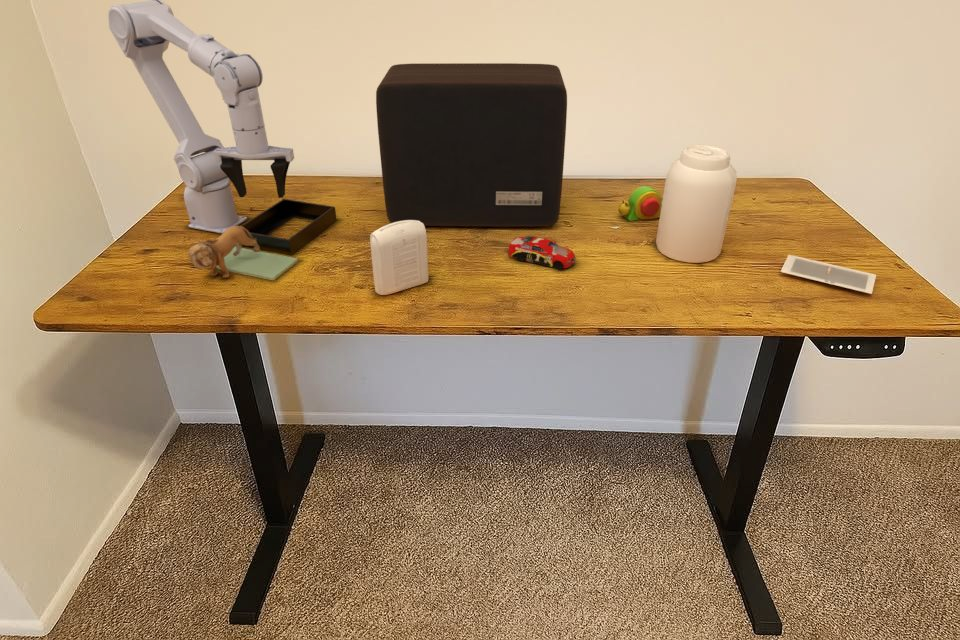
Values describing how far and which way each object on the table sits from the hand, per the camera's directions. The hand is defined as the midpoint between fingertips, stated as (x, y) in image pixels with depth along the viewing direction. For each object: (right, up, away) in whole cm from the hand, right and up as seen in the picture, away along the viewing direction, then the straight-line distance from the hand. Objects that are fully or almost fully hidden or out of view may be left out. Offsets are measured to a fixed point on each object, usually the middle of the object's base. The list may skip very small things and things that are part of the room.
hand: (262, 195), depth 127 cm
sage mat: (-2, -13, -2) cm, 14 cm away
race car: (+54, -13, -2) cm, 56 cm away
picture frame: (+3, -6, +9) cm, 11 cm away
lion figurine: (-4, -15, -5) cm, 16 cm away
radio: (+41, -1, +17) cm, 45 cm away
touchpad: (+106, -17, -8) cm, 108 cm away
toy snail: (+82, -1, +16) cm, 83 cm away
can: (+84, -11, +2) cm, 84 cm away
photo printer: (+28, -18, -10) cm, 35 cm away
